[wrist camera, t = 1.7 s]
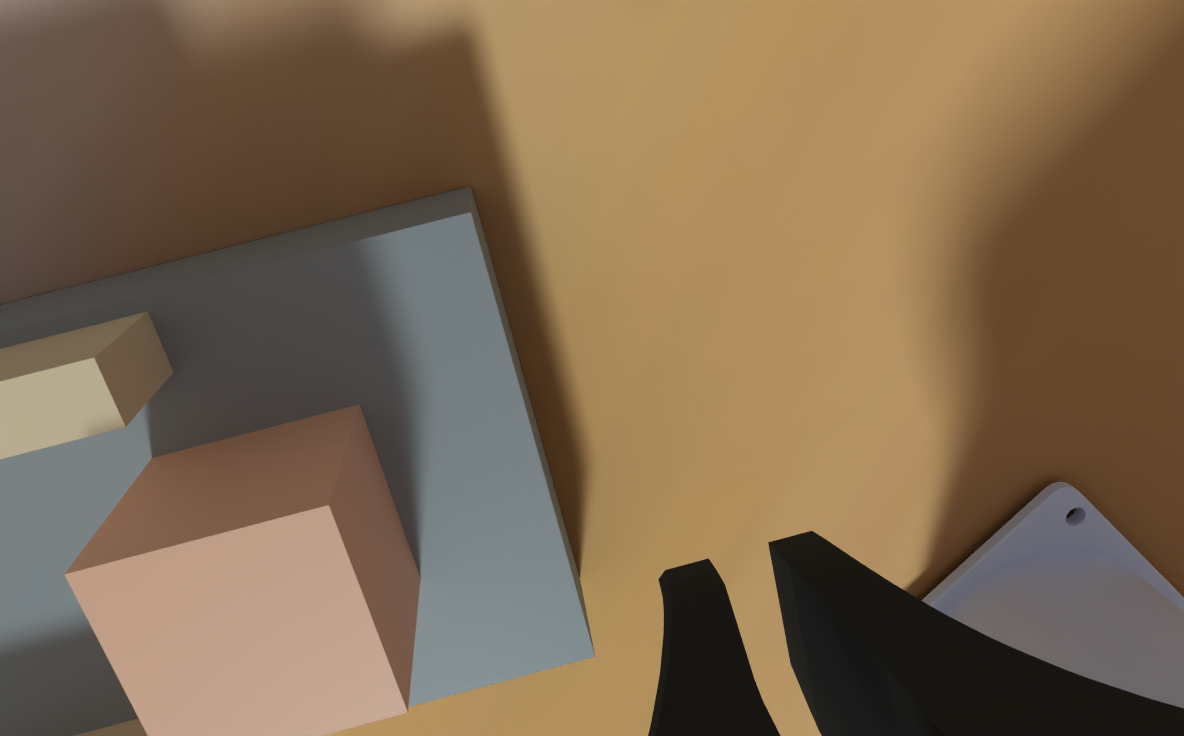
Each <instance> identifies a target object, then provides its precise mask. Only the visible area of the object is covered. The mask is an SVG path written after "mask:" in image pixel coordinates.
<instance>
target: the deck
mask: <svg viewBox="0 0 1184 736" xmlns="http://www.w3.org/2000/svg"><path fill="white" fill-rule="evenodd" d="M358 404H360V407H361V410H362V413H363V416H364V419H365V421H366V424H367V427H368V430H369V433H370V436H371V438H372V441H373V444H374V447H375V450H376V453H377V456H378V458H379V461H380V464H381V467H382V470H383V473H384V475H385V478H386V481H387V484H388V487H389V490H390V493H391V495H392V498H393V501H394V504H395V507H396V510H397V513H398V515H399V518H400V521H401V524H402V527H403V530H404V532H405V535H406V538H407V541H408V544H409V547H410V550H411V552H412V555H413V558H414V561H415V564H416V567H417V569H418V572H419V575H420V578H421V580H420V591H419V601H418V612H417V622H416V633H415V643H414V654H413V664H412V674H411V685H410V695H409V706H408V707H410V706H414V705H417V704H421V703H425V702H429V701H432V700H436V699H440V698H443V697H447V696H451V695H454V694H458V693H462V692H465V691H469V690H473V689H477V688H480V687H484V686H488V685H491V684H495V683H499V682H502V681H506V680H510V679H513V678H517V677H521V676H525V675H528V674H532V673H536V672H539V671H543V670H547V669H550V668H554V667H558V666H562V665H565V664H569V663H573V662H576V661H580V660H584V659H587V658H591V657H595V654H594V649H593V643H592V638H591V633H590V628H589V623H588V618H587V613H586V608H585V602H584V597H583V592H582V587H581V582H580V578H579V574H578V571H577V567H576V563H575V560H574V556H573V553H572V549H571V545H570V542H569V538H568V534H567V531H566V527H565V524H564V520H563V516H562V513H561V509H560V506H559V502H558V498H557V495H556V491H555V488H554V484H553V480H552V477H551V473H550V469H549V466H548V462H547V459H546V455H545V451H544V448H543V444H542V441H541V437H540V433H539V430H538V426H537V422H536V419H535V415H534V412H533V408H532V404H531V401H530V397H529V394H528V390H527V386H526V383H525V379H524V375H523V372H522V368H521V365H520V361H519V357H518V354H517V350H516V347H515V343H514V339H513V336H512V332H511V328H510V325H509V321H508V318H507V314H506V310H505V307H504V303H503V300H502V296H501V292H500V289H499V285H498V281H497V278H496V274H495V271H494V267H493V263H492V260H491V256H490V253H489V249H488V245H487V242H486V238H485V234H484V231H483V227H482V224H481V220H480V216H479V213H478V209H477V206H476V202H475V198H474V195H473V191H472V188H471V186H469V187H465V188H461V189H457V190H453V191H449V192H445V193H441V194H437V195H433V196H429V197H425V198H421V199H417V200H414V201H410V202H406V203H402V204H398V205H394V206H390V207H386V208H382V209H378V210H374V211H370V212H366V213H362V214H358V215H354V216H350V217H346V218H342V219H338V220H334V221H330V222H326V223H322V224H318V225H314V226H310V227H306V228H303V229H299V230H295V231H291V232H287V233H283V234H279V235H275V236H271V237H267V238H263V239H259V240H255V241H251V242H247V243H243V244H239V245H235V246H231V247H227V248H223V249H219V250H215V251H211V252H207V253H203V254H199V255H195V256H191V257H188V258H184V259H180V260H176V261H172V262H168V263H164V264H160V265H156V266H152V267H148V268H144V269H140V270H136V271H132V272H128V273H124V274H120V275H116V276H112V277H108V278H104V279H100V280H96V281H92V282H88V283H84V284H80V285H76V286H73V287H69V288H65V289H61V290H57V291H53V292H49V293H45V294H41V295H37V296H33V297H29V298H25V299H21V300H17V301H13V302H9V303H5V304H1V305H0V736H148V735H147V733H146V731H145V729H144V727H143V726H142V724H141V722H140V720H139V718H138V716H137V714H136V712H135V710H134V708H133V706H132V704H131V702H130V700H129V699H128V697H127V695H126V693H125V691H124V689H123V687H122V685H121V683H120V681H119V679H118V677H117V675H116V673H115V671H114V670H113V668H112V666H111V664H110V662H109V660H108V658H107V656H106V654H105V652H104V650H103V648H102V646H101V644H100V642H99V641H98V639H97V637H96V635H95V633H94V631H93V629H92V627H91V625H90V623H89V621H88V619H87V617H86V615H85V613H84V612H83V610H82V608H81V606H80V604H79V602H78V600H77V598H76V596H75V594H74V592H73V590H72V588H71V586H70V585H69V583H68V581H67V579H66V577H65V575H64V574H65V573H66V572H67V570H68V569H69V568H70V566H71V565H72V564H73V562H74V561H75V560H76V558H77V557H78V556H79V554H80V553H81V552H82V550H83V549H84V548H85V546H86V545H87V544H88V542H89V541H90V540H91V538H92V537H93V536H94V534H95V533H96V532H97V530H98V529H99V528H100V526H101V525H102V524H103V522H104V521H105V520H106V518H107V517H108V516H109V514H110V513H111V512H112V510H113V509H114V508H115V506H116V505H117V504H118V502H119V501H120V500H121V498H122V497H123V496H124V494H125V493H126V492H127V490H128V489H129V488H130V486H131V485H132V484H133V482H134V481H135V480H136V478H137V477H138V476H139V474H140V473H141V472H142V471H143V469H144V468H145V467H146V465H147V464H148V463H149V461H150V460H151V459H152V458H154V457H158V456H162V455H165V454H169V453H173V452H177V451H181V450H185V449H189V448H192V447H196V446H200V445H204V444H208V443H212V442H216V441H219V440H223V439H227V438H231V437H235V436H239V435H243V434H247V433H250V432H254V431H258V430H262V429H266V428H270V427H274V426H277V425H281V424H285V423H289V422H293V421H297V420H301V419H304V418H308V417H312V416H316V415H320V414H324V413H328V412H331V411H335V410H339V409H343V408H347V407H351V406H355V405H358Z"/></svg>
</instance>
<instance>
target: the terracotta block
mask: <svg viewBox="0 0 1184 736" xmlns="http://www.w3.org/2000/svg"><path fill="white" fill-rule="evenodd" d="M64 575H65V577H66V579H67V581H68V583H69V585H70V586H71V588H72V590H73V592H74V594H75V596H76V598H77V600H78V602H79V604H80V606H81V608H82V610H83V612H84V613H85V615H86V617H87V619H88V621H89V623H90V625H91V627H92V629H93V631H94V633H95V635H96V637H97V639H98V641H99V642H100V644H101V646H102V648H103V650H104V652H105V654H106V656H107V658H108V660H109V662H110V664H111V666H112V668H113V670H114V671H115V673H116V675H117V677H118V679H119V681H120V683H121V685H122V687H123V689H124V691H125V693H126V695H127V697H128V699H129V700H130V702H131V704H132V706H133V708H134V710H135V712H136V714H137V716H138V718H139V720H140V722H141V724H142V726H143V727H144V729H145V731H146V733H147V735H148V736H323V735H326V734H330V733H334V732H337V731H341V730H345V729H348V728H352V727H356V726H360V725H363V724H367V723H371V722H374V721H378V720H382V719H385V718H389V717H393V716H396V715H400V714H404V713H408V706H409V695H410V685H411V674H412V664H413V654H414V643H415V633H416V622H417V612H418V601H419V591H420V580H421V578H420V575H419V572H418V569H417V567H416V564H415V561H414V558H413V555H412V552H411V550H410V547H409V544H408V541H407V538H406V535H405V532H404V530H403V527H402V524H401V521H400V518H399V515H398V513H397V510H396V507H395V504H394V501H393V498H392V495H391V493H390V490H389V487H388V484H387V481H386V478H385V475H384V473H383V470H382V467H381V464H380V461H379V458H378V456H377V453H376V450H375V447H374V444H373V441H372V438H371V436H370V433H369V430H368V427H367V424H366V421H365V419H364V416H363V413H362V410H361V407H360V404H358V405H355V406H351V407H347V408H343V409H339V410H335V411H331V412H328V413H324V414H320V415H316V416H312V417H308V418H304V419H301V420H297V421H293V422H289V423H285V424H281V425H277V426H274V427H270V428H266V429H262V430H258V431H254V432H250V433H247V434H243V435H239V436H235V437H231V438H227V439H223V440H219V441H216V442H212V443H208V444H204V445H200V446H196V447H192V448H189V449H185V450H181V451H177V452H173V453H169V454H165V455H162V456H158V457H154V458H152V459H151V460H150V461H149V463H148V464H147V465H146V467H145V468H144V469H143V471H142V472H141V473H140V474H139V476H138V477H137V478H136V480H135V481H134V482H133V484H132V485H131V486H130V488H129V489H128V490H127V492H126V493H125V494H124V496H123V497H122V498H121V500H120V501H119V502H118V504H117V505H116V506H115V508H114V509H113V510H112V512H111V513H110V514H109V516H108V517H107V518H106V520H105V521H104V522H103V524H102V525H101V526H100V528H99V529H98V530H97V532H96V533H95V534H94V536H93V537H92V538H91V540H90V541H89V542H88V544H87V545H86V546H85V548H84V549H83V550H82V552H81V553H80V554H79V556H78V557H77V558H76V560H75V561H74V562H73V564H72V565H71V566H70V568H69V569H68V570H67V572H66V573H65V574H64Z"/></svg>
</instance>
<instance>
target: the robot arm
mask: <svg viewBox="0 0 1184 736" xmlns="http://www.w3.org/2000/svg"><path fill="white" fill-rule="evenodd" d="M1074 508H1076V511H1075V512H1074V513H1073V515H1072V516H1070V517H1068V518H1066V515H1067V514H1068V513H1069V511H1070V510H1072V509H1074ZM768 544H769V549H770V554H771V560H772V565H773V571H774V576H775V581H776V587H777V592H778V598H779V603H780V608H781V614H782V619H783V625H784V630H785V635H786V641H787V646H788V652H789V657H790V662H791V666H792V668H793V670H794V673H795V675H796V678H797V680H798V682H799V685H800V687H801V690H802V692H803V694H804V697H805V699H806V702H807V704H808V706H809V709H810V711H811V713H812V716H813V718H814V720H815V722H816V725H817V727H818V729H819V731H820V733H821V735H822V736H1184V597H1183V596H1182V595H1181V594H1180V593H1179V592H1178V591H1177V590H1176V589H1175V588H1174V587H1173V586H1172V585H1171V584H1170V583H1169V582H1168V581H1167V580H1166V579H1165V578H1164V577H1163V576H1162V575H1161V574H1160V573H1159V572H1158V571H1157V570H1156V569H1155V568H1154V567H1153V566H1152V565H1151V564H1150V563H1149V562H1148V561H1147V560H1146V559H1145V558H1144V557H1143V556H1142V555H1141V554H1140V553H1139V552H1138V551H1137V550H1136V549H1135V548H1134V547H1133V546H1132V544H1131V543H1130V542H1129V541H1128V540H1127V539H1126V538H1125V537H1124V536H1123V535H1122V534H1121V533H1120V532H1119V531H1118V530H1117V529H1116V528H1115V527H1114V526H1113V525H1112V524H1111V523H1110V522H1109V521H1108V520H1107V519H1106V518H1105V517H1104V516H1103V515H1102V514H1101V513H1100V512H1099V511H1098V510H1097V509H1096V508H1095V507H1094V506H1093V505H1092V504H1091V503H1090V502H1089V501H1088V500H1087V499H1086V498H1085V497H1084V496H1083V495H1082V494H1081V493H1080V492H1079V491H1078V490H1077V489H1076V488H1074V487H1073V486H1072V485H1070V484H1068V483H1067V482H1055V483H1052V484H1050V485H1049V486H1047V487H1046V488H1045V489H1043V490H1042V491H1041V492H1040V493H1039V494H1038V495H1037V496H1036V497H1035V498H1034V499H1032V500H1031V501H1030V502H1029V503H1028V504H1027V505H1026V506H1025V507H1024V508H1023V509H1021V510H1020V511H1019V512H1018V513H1017V514H1016V515H1015V516H1014V517H1013V518H1012V519H1010V520H1009V521H1008V522H1007V523H1006V524H1005V525H1004V526H1003V527H1002V528H1001V529H999V530H998V531H997V532H996V533H995V534H994V535H993V536H992V537H991V538H990V539H988V540H987V541H986V542H985V543H984V544H983V545H982V546H981V547H980V548H979V549H977V550H976V551H975V552H974V553H973V554H972V555H971V556H970V557H969V558H968V559H966V560H965V561H964V562H963V563H962V564H961V565H960V566H959V567H958V568H957V569H955V570H954V571H953V572H952V573H951V574H950V575H949V576H948V577H947V578H946V579H944V580H943V581H942V582H941V583H940V584H939V585H938V586H937V587H936V588H935V589H934V590H932V591H931V592H930V593H929V594H928V595H927V596H926V597H925V598H924V599H923V600H920V599H918V598H916V597H915V596H913V595H911V594H909V593H908V592H906V591H904V590H903V589H901V588H899V587H898V586H896V585H894V584H893V583H891V582H890V581H888V580H886V579H885V578H883V577H882V576H880V575H879V574H877V573H875V572H874V571H872V570H871V569H869V568H868V567H866V566H865V565H863V564H862V563H860V562H859V561H857V560H856V559H854V558H853V557H851V556H850V555H848V554H847V553H845V552H844V551H842V550H841V549H839V548H838V547H836V546H835V545H833V544H832V543H830V542H829V541H827V540H826V539H824V538H823V537H821V536H819V535H818V534H816V533H815V532H813V531H810V532H806V533H802V534H798V535H795V536H791V537H787V538H783V539H780V540H776V541H772V542H769V543H768ZM659 583H660V587H661V592H662V596H663V604H664V636H663V647H662V658H661V669H660V677H659V683H658V689H657V694H656V700H655V705H654V711H653V716H652V722H651V726H650V730H649V735H648V736H780V734H779V732H778V730H777V728H776V726H775V724H774V722H773V720H772V718H771V716H770V714H769V712H768V710H767V708H766V706H765V704H764V702H763V700H762V698H761V695H760V693H759V690H758V687H757V685H756V682H755V680H754V677H753V674H752V670H751V667H750V664H749V661H748V657H747V654H746V651H745V648H744V645H743V641H742V638H741V635H740V632H739V628H738V625H737V622H736V619H735V616H734V612H733V609H732V606H731V603H730V600H729V596H728V593H727V590H726V587H725V584H724V582H723V581H722V579H721V577H720V575H719V574H718V572H717V570H716V569H715V567H714V566H713V564H712V563H711V561H710V560H709V559H705V560H701V561H698V562H694V563H690V564H687V565H683V566H679V567H675V568H672V569H668V570H665V571H664V573H663V574H662V575H661V577H660V578H659Z"/></svg>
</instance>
